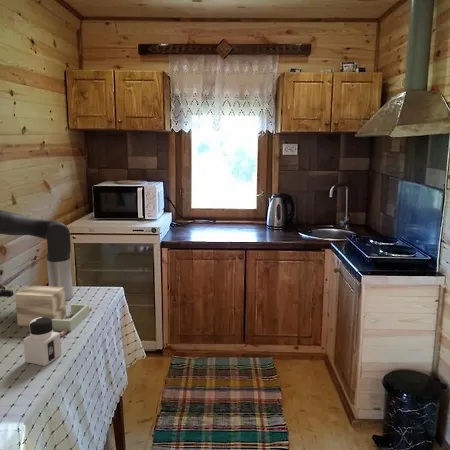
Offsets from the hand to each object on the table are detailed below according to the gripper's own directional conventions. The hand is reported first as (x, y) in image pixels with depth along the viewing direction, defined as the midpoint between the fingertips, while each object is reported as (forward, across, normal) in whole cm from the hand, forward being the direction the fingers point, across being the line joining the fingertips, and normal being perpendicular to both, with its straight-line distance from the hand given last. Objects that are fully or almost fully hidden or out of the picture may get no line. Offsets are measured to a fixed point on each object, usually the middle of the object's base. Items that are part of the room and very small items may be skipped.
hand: (12, 293), depth 169 cm
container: (+27, -28, +10) cm, 40 cm away
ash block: (+11, 0, +10) cm, 15 cm away
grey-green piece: (+22, 0, +10) cm, 24 cm away
